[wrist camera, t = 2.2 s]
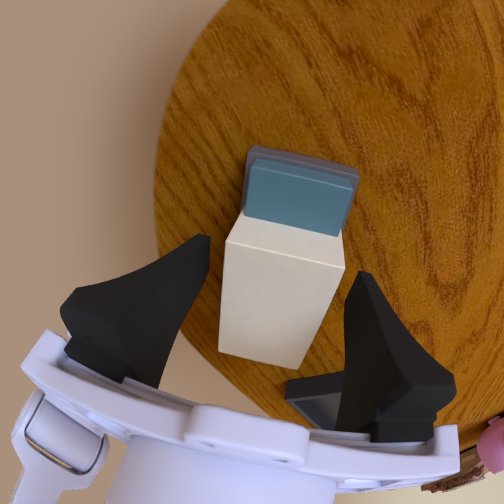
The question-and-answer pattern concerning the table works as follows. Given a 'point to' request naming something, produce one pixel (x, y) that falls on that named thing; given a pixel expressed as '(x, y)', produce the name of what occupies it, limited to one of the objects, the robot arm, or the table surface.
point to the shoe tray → (317, 398)
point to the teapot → (492, 445)
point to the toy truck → (283, 255)
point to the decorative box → (461, 473)
